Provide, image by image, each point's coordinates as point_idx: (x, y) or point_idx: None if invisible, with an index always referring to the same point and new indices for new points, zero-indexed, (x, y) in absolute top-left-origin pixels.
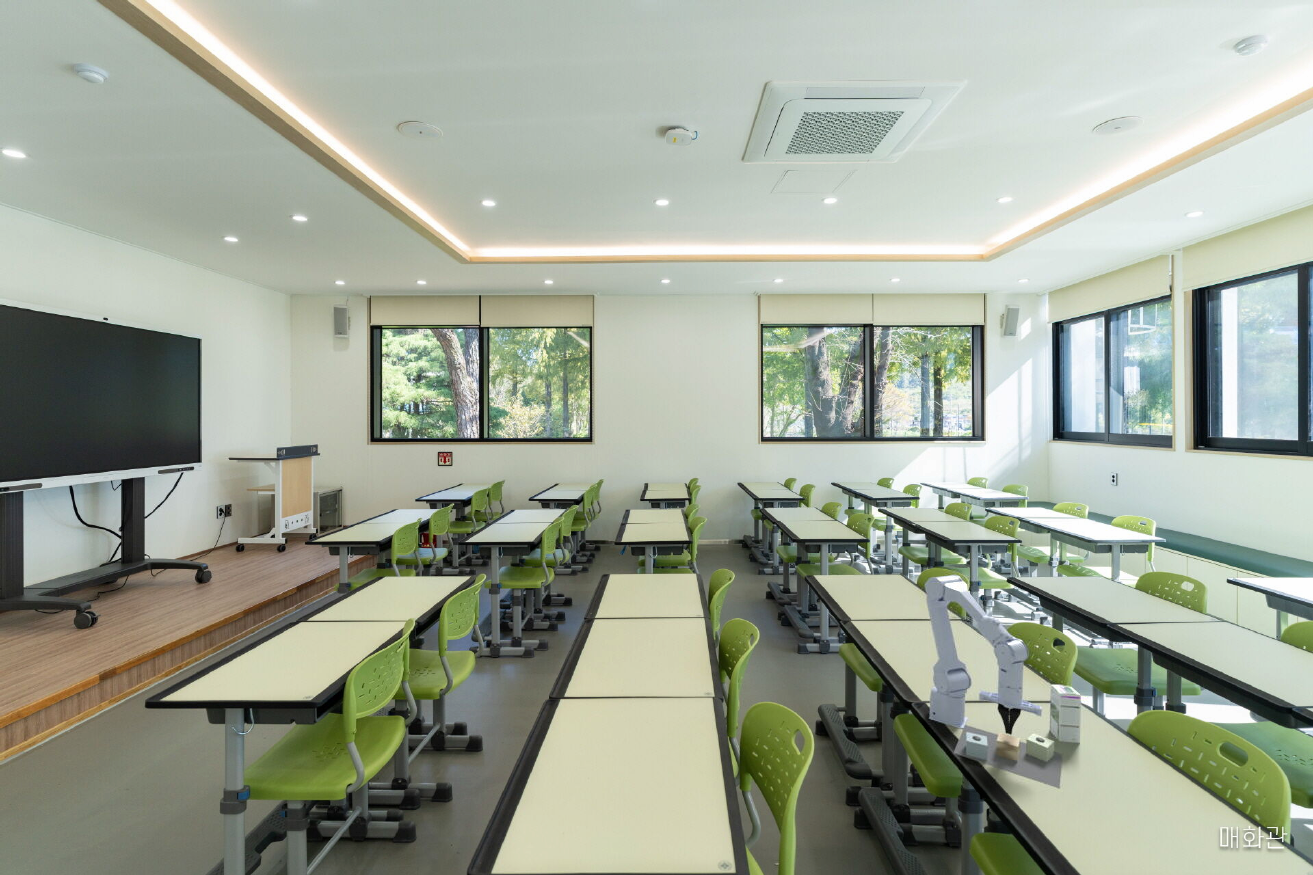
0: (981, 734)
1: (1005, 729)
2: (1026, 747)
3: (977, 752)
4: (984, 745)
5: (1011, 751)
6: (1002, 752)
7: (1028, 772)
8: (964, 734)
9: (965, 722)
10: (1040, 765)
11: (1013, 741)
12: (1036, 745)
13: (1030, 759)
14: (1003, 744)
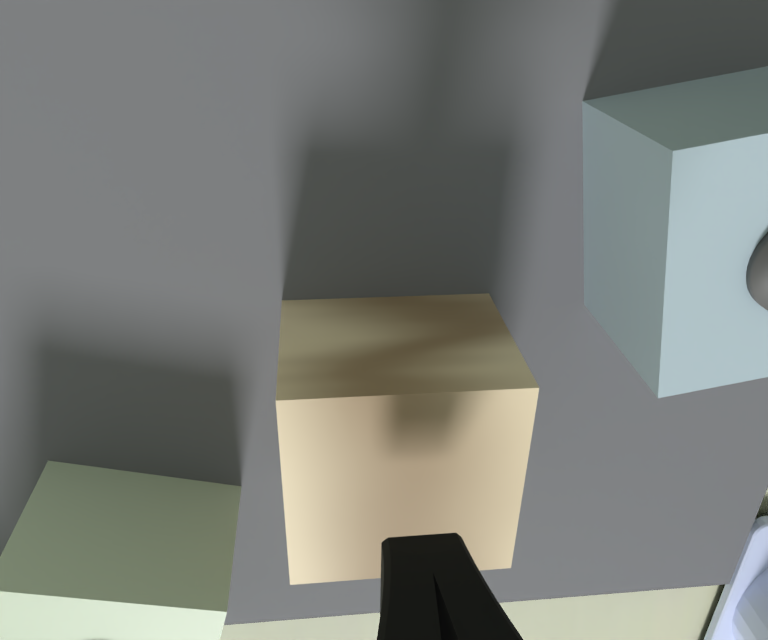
0: (611, 531)
1: (476, 571)
2: (233, 531)
3: (726, 93)
4: (711, 141)
5: (350, 345)
6: (438, 317)
7: (134, 134)
8: (757, 448)
9: (725, 608)
10: (75, 367)
11: (346, 484)
12: (119, 576)
13: (183, 411)
14: (450, 374)
